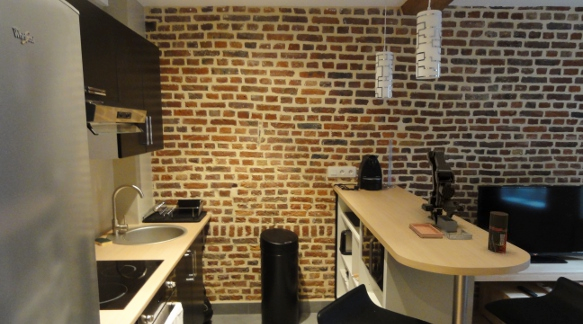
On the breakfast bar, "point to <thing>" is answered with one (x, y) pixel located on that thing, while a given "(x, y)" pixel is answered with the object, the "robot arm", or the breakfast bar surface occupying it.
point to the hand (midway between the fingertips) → (441, 224)
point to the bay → (457, 235)
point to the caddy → (446, 223)
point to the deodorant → (498, 232)
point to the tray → (425, 230)
